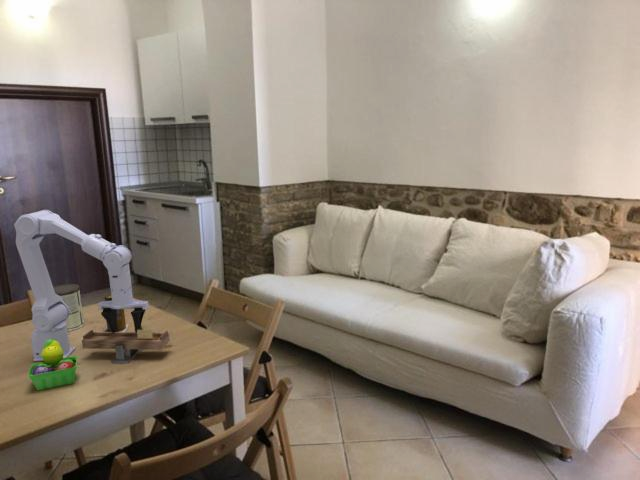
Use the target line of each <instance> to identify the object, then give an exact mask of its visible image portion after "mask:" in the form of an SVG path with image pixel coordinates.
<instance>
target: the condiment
mask: <svg viewBox="0 0 640 480" xmlns="http://www.w3.org/2000/svg"><path fill="white" fill-rule="evenodd" d="M104 301H112V296H111V293H110V294H108V295H105V297H104ZM126 322H127V321H126V314H125V309H117V326H118V330H117V331H116V332H127V330H128V327H129V325H130V323H126ZM105 323H106V327H105V329H104V330H103V332H112V331H111V328H110V326H109V324H108V322H107V321H106V320H105Z"/></svg>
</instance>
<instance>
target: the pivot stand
mask: <svg viewBox="0 0 640 480" xmlns="http://www.w3.org/2000/svg"><path fill="white" fill-rule="evenodd" d="M114 350H115V351H114V352H115V357H114V358H112V359H111V364H130V362H131V361H132V360H133V359H134V358H135V357H136V356H137V355H138V354H139V353H140V352H141V351H143V349H125V346H124V344H116V345H115V349H114Z"/></svg>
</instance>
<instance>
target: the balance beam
mask: <svg viewBox="0 0 640 480" xmlns="http://www.w3.org/2000/svg"><path fill="white" fill-rule="evenodd" d="M170 340H171V339H170V332H168V330H165V331H164V332H158V338H157V339H156V340H138V335H137V333H135V331H133V332H131V331H126V332H115V333H112V332H104V331H94V329H91V330H89V331H87V332H86V333H85V334H84V335H82V340H81V347H82V349H84V350H85V349H87V350H89V349H90V350H92V349H93V350H98V349H99V350H115V345H116V344H124V346H125V349H142V350H150V351H153V350H154V351H155V350H157V351H159V350H160V351H162V350H163V349H164V347H166V345H167V344H168V343H169V342H170Z"/></svg>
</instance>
